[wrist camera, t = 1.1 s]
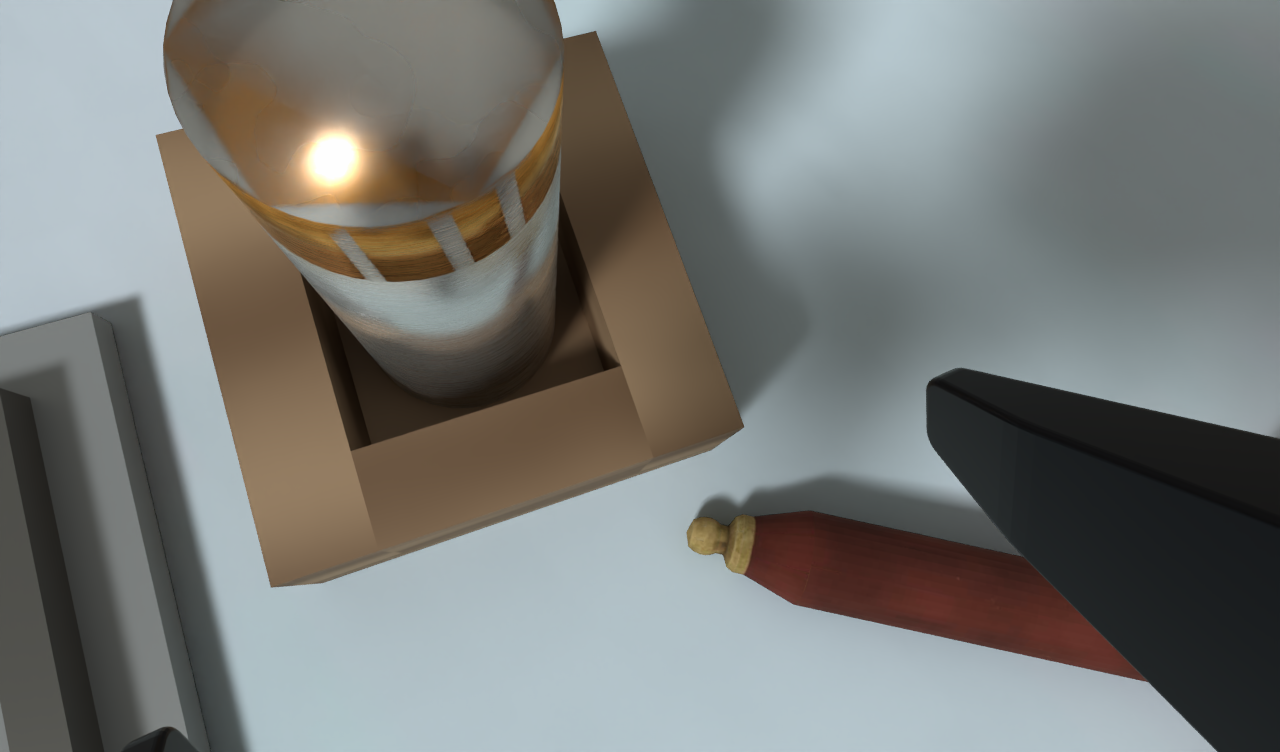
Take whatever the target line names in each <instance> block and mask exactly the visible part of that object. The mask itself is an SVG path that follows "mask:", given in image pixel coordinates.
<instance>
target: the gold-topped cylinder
mask: <svg viewBox="0 0 1280 752" xmlns="http://www.w3.org/2000/svg"><path fill="white" fill-rule="evenodd" d="M163 58H164V73H165V79H166V84H167V90H168V94H169V97H170V99H171V102H172V105H173V108H174V111H175V114H176V116H177V118H178V120H179V122H180V124H181V125H182V127H183V129H184V131H185V133H186V135H187V137H188V138H189V139H190V141H191V142H192V143H193V145H194V146H195V148H196V149H197V150H198V152H199V153H200V154H201V156H202V157H203V158H204V159H205V160H206V162H207V163H208V164H209V165H210V166H211V168H212V169H213V170H214V171H215V172H216V173H217V175H218V176H219V177H220V178H221V179H222V181H223V182H224V183H225V184H226V185H227V186H228V188H229V189H230V190H231V191H232V192H233V193H234V195H235V196H236V197H237V198H238V199H239V201H240V202H241V203H242V204H243V205H244V206H245V208H246V209H247V210H248V211H249V212H250V214H251V215H252V216H253V217H254V218H255V219H256V221H257V222H258V223H259V224H260V225H261V227H262V228H263V229H264V230H265V231H266V232H267V234H268V235H269V236H270V237H271V238H272V239H273V241H274V242H275V243H276V244H277V245H278V247H279V248H280V249H281V250H282V251H283V252H284V254H285V255H286V256H287V257H288V258H289V260H290V261H291V262H292V263H293V264H294V265H295V267H296V268H297V269H298V270H299V271H300V273H301V274H302V275H303V276H304V277H305V278H306V280H307V281H308V282H309V283H310V284H311V285H312V287H313V288H314V289H315V290H316V291H317V293H318V294H319V295H320V296H321V297H322V298H323V300H324V301H325V302H326V303H327V304H328V306H329V307H330V308H331V309H332V310H333V311H334V313H335V314H336V315H337V316H338V317H339V318H340V320H341V321H342V322H343V323H344V324H345V326H346V327H347V328H348V329H349V330H350V331H351V333H352V334H353V335H354V336H355V337H356V339H357V340H358V341H359V342H360V343H361V344H362V346H363V347H364V348H365V349H366V350H367V352H368V353H369V354H370V355H371V356H372V357H373V359H374V360H375V361H376V362H377V363H378V364H379V366H380V367H381V368H382V369H383V370H384V372H385V373H386V374H387V375H388V376H389V377H390V378H391V379H392V380H393V381H394V382H395V383H396V384H397V385H398V386H399V387H400V388H402V389H403V390H404V391H406V392H407V393H409V394H410V395H412V396H414V397H416V398H417V399H420V400H422V401H425V402H427V403H430V404H433V405H437V406H441V407H448V408H472V407H479V406H483V405H487V404H491V403H493V402H496V401H499V400H501V399H503V398H505V397H507V396H509V395H511V394H512V393H514V392H515V391H517V390H518V389H519V388H521V387H522V386H523V385H524V384H525V383H527V382H528V381H529V380H530V379H531V378H532V377H533V375H534V374H535V373H536V372H537V370H538V369H539V368H540V366H541V365H542V363H543V361H544V360H545V358H546V356H547V353H548V351H549V349H550V346H551V342H552V339H553V334H554V328H555V305H556V277H557V248H558V220H559V192H560V164H561V136H562V108H563V79H564V42H563V34H562V27H561V22H560V19H559V16H558V12H557V9H556V5H555V2H554V0H173V2H172V6H171V9H170V12H169V16H168V19H167V22H166V29H165V36H164V44H163Z"/></svg>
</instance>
